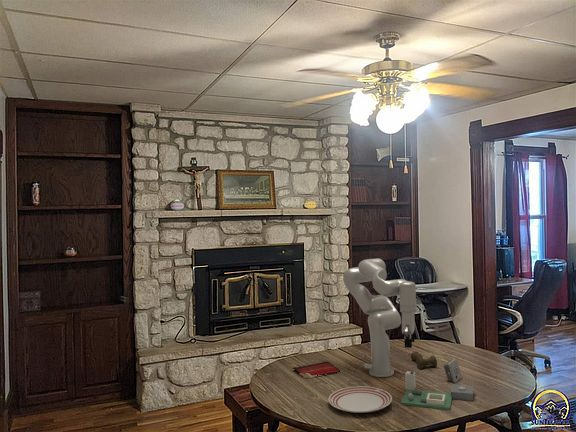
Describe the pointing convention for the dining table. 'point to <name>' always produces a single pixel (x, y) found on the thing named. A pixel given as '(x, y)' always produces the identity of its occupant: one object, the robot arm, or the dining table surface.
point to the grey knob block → (462, 392)
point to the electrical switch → (453, 371)
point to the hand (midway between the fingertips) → (409, 344)
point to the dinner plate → (360, 399)
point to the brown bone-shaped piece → (423, 360)
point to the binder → (317, 369)
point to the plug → (410, 380)
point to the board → (427, 399)
